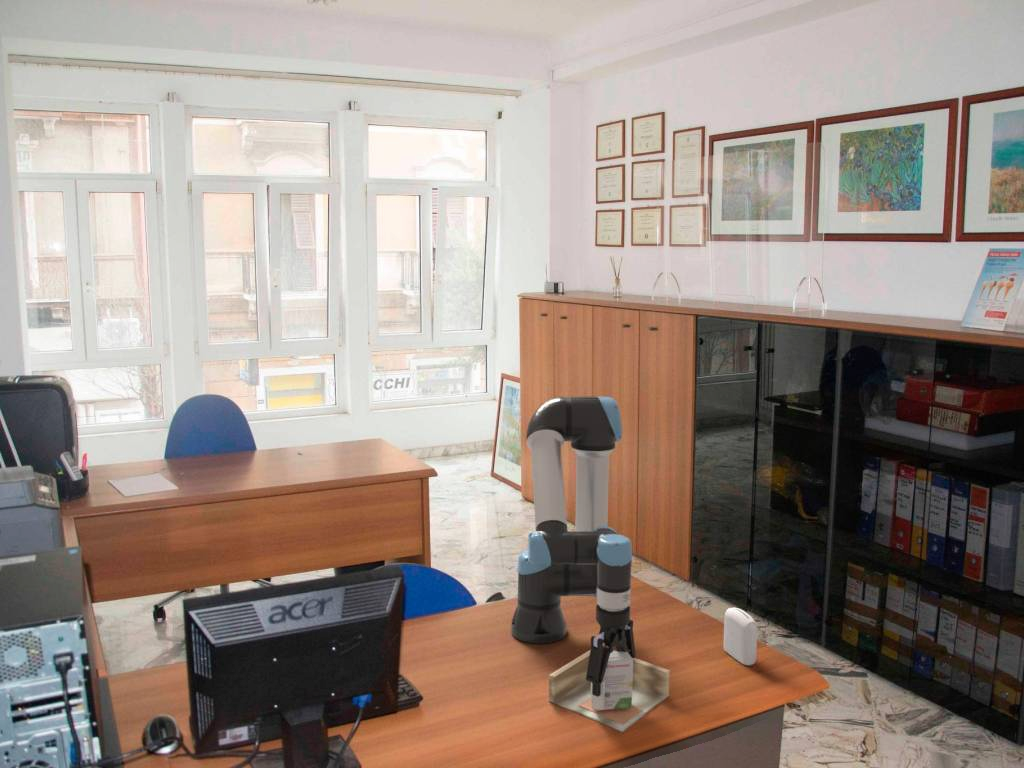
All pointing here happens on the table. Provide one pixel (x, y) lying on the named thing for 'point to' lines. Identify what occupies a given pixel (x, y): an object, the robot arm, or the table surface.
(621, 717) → the pad
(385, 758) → the table surface
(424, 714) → the table surface
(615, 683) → the ink box
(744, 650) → the photo printer
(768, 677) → the table surface
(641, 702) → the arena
